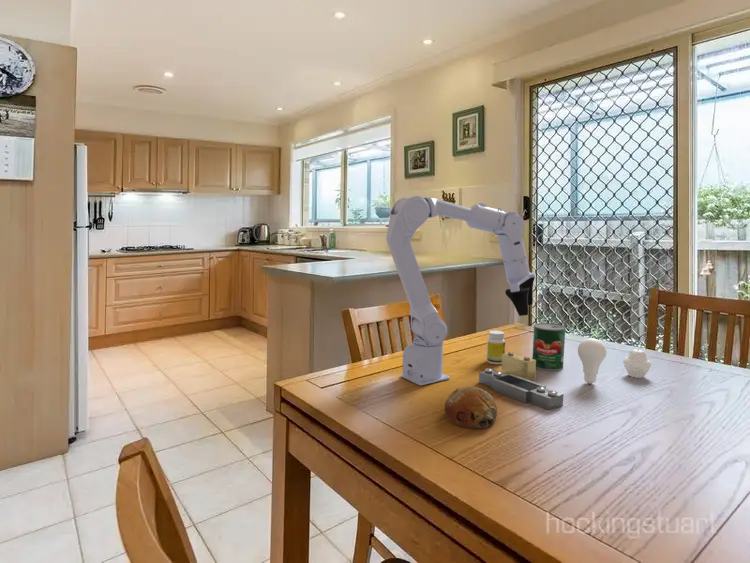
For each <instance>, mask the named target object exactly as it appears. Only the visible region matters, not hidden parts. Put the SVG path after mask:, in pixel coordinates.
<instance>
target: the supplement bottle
mask: <svg viewBox="0 0 750 563" xmlns="http://www.w3.org/2000/svg"><path fill="white" fill-rule="evenodd" d="M486 342H487V344H486V362H487V363H488V364H491V365H502V354H505V352H506V341H505V333H504V331H500V330H490V331H489V332H488V338H487V340H486Z"/></svg>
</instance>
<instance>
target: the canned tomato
mask: <svg viewBox="0 0 750 563" xmlns="http://www.w3.org/2000/svg"><path fill="white" fill-rule="evenodd" d="M566 328H567V327H566V326H564V325H563V324H560V323H559V324H558V323H551V322H539V323H535V324H533V338H532V339H533V340H532V356H531V357H532V358H531V359H534V360H536V369H537V370H541V371H547V372H548V371H550V372H555V371H556V372H557V371H558V372H559V371H562V370H564V359H565V342H566V339H565V338H566V330H567V329H566Z"/></svg>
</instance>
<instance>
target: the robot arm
mask: <svg viewBox="0 0 750 563" xmlns="http://www.w3.org/2000/svg"><path fill="white" fill-rule="evenodd" d="M388 214H389V219H388V220H389V222H388V226H387V232H386V238H385V239H386V243H387V246H388V249H389V251H390V254H391V257H392V260H393V262H394V265H395V268H396V271H397V274H398V276H399V278H400V282H401V284H402V287H403V291H404V293H405V296H406V299H407V302H408V303H409V304H408V305H409V307H410V308H409V316H410V328H411V331H412V332H413V334H414V337H413V342H412V343H411V344H409V345H406V346H405V347H404V349H403V352H402V374H400V377H401V378H404V379H406V380H407V381H410V382H411V383H413V384H416V385H418V386H424V385H428V384H433V383H438V382H441V381H442V382H443V381H446V380H449V379H451V376H449V375H447V374H445V373H443V369H444V368H443V364H444V363H443V362H444V360H443V359H444V342H445V340H446V338H447V336H448V331H449V330H448V326H447V324H446V323H445V321H444V320H442V319H441V317H440V315H439V312H438V311H437V309H436V307H435V306H434V305H433V303H432V301H431V298H430V294H429V292H428V289H427V287H426V283H425V281H424V278H423V274H422V272H421V269H420V267H419V263H418V261H417V258H416V254H415V251H414V249H413V247H412V243H411V240H412V239H413V237H414V234H415V233H416V231H417V230H418V229H419V228H420V227H421V226H422V225H423V224H425V222H426V221H427V220H428V219H429V218H435V217H436V216H438V217H439V216H440V217H445V218H449V219H455V220H460V221H465V222H466V225H467V226H468V227H469V228H471V229H476V230H479V231H480V230H481V231H484V232H488V233H491V234H492V233H493V234H494V235H495V236H497V240H498V245H499V249H500V253H501V257H502V262H503V266H504V270H505V271H504V272H505V275H506V282H507V283H508V285H509V288H508V289H505V291H504V292H505V295H506V296H507V297H508V299H509V300H510V301H511V302H512V304H513V306H514V308H515V310H516V312H517V315H518V316H520V317H521V316H523V317H524V316H528V315H529V306H531V305H533V302H534V300H533V299H534V297H533V295H534V294H533V293H534V292H533V289H534V288H533V287H534V281H535V277H536V275H537V274H536V272H534V271H533V272H531V271H530V266H529V262H528V258H527V252H526V246H525V244H524V238H523V237H524V236H523V232H524V231H523V230H524V228H525V220H524V219H522V217H521V215H519V213H517V212H515V211H504V209H503V208H501V207H498V208H493V207H490V206H487V203H484V202H480V203H478V204H473V205H472V206H471V207H467V206H463V205H460V204H456V203H454V202H453V203H452V202H450V201H446V200H443V199H442V200H441V199H439V198H434V197H427V196H426V197H423V196H418V195H414V196H411V197H402V198H401V199H398V200H397V201H396V202H395V203H394V205H393V206H392V208H391V210H390V211H389V213H388Z"/></svg>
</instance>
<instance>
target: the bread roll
mask: <svg viewBox="0 0 750 563" xmlns="http://www.w3.org/2000/svg"><path fill="white" fill-rule="evenodd" d="M444 415H445V417H446V419H447V420H449V421H450V422H451V423H452V425H453V424H454V425H456V426H458V427H462V428H464V429H465V428H466V429H484V428H485V429H487V428H488V427H490V426H491V425H492V424H493V423H494V422H495V421H496V419H497V417H498V408H497V405H496V402H495V399H494V397H493V396H492V395H491V393H489V392H488V391H487V390H484V389H482V388H480V387H477V386H472V385H470V386H463V387H459V388H456V389H455V390H454V391H452V392H451V393H450V394H449V395H448V397H447V398H446V400H445V402H444Z"/></svg>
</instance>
